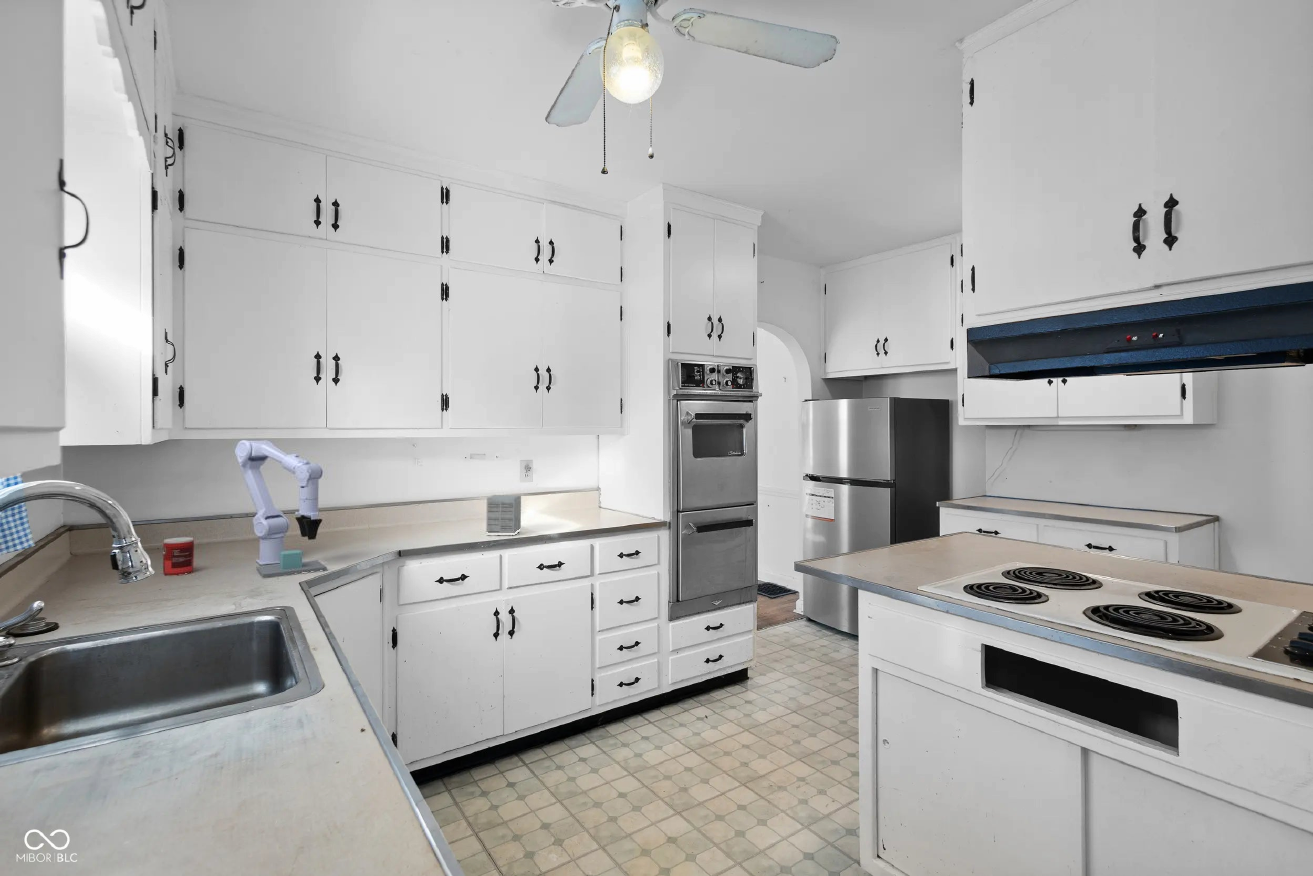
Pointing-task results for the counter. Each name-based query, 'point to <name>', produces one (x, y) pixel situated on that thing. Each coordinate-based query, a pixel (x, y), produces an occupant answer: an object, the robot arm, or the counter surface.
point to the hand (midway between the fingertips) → (308, 538)
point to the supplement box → (503, 513)
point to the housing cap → (290, 559)
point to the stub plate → (277, 571)
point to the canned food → (178, 556)
